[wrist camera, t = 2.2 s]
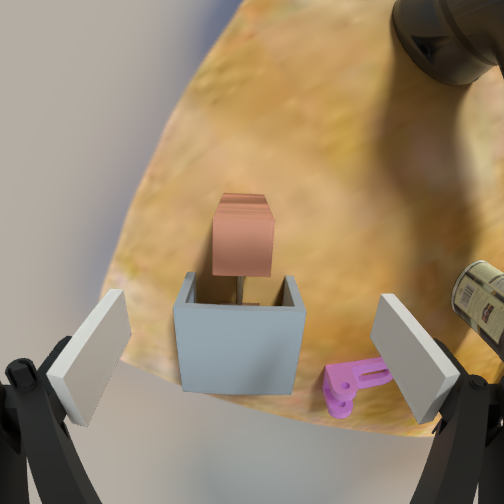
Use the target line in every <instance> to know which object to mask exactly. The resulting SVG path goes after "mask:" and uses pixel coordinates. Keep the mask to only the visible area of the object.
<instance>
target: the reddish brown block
mask: <svg viewBox="0 0 504 504" xmlns="http://www.w3.org/2000/svg"><path fill="white" fill-rule="evenodd" d="M274 223H275V221H274V218H273V216H272V213H271V211H270V208H269V206H268V203H267V201H266V199H265V196H264V195H257V194H233V193H224V194H223V196H222V198H221V201H220V203H219V205H218V208H217V210H216V212H215V215H214V217H213V275H223V276H238V278H237V303H232V302H220V304H219V305H244V306H259V303H242V298H243V276H250V277H270V276H271V263H272V250H273V237H274Z"/></svg>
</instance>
